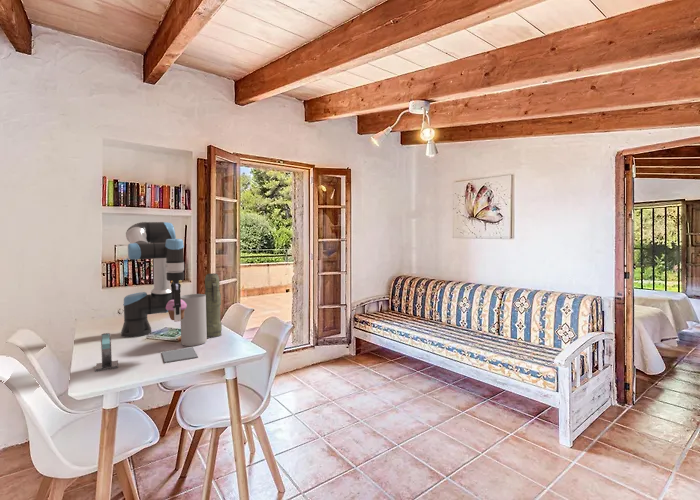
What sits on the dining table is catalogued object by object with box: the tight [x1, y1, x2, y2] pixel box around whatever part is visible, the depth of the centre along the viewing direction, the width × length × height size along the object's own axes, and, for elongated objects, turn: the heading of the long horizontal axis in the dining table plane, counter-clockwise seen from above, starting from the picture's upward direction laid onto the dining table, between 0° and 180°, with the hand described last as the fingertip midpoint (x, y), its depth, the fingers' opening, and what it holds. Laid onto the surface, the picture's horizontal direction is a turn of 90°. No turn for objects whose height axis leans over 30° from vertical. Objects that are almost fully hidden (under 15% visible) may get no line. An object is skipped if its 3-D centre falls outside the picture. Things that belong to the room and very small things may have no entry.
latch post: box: [94, 337, 119, 372], centre depth 163 cm, size 8×8×12 cm
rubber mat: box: [161, 346, 199, 364], centre depth 178 cm, size 16×14×1 cm
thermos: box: [204, 272, 223, 338], centre depth 211 cm, size 9×12×35 cm
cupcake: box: [166, 299, 187, 321], centre depth 176 cm, size 9×9×10 cm
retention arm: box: [101, 332, 111, 349], centre depth 156 cm, size 3×19×2 cm, turn 33°
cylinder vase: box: [180, 293, 208, 347], centre depth 197 cm, size 12×12×25 cm
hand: (176, 319), depth 177 cm, fingers closed on cupcake, 9 cm apart
